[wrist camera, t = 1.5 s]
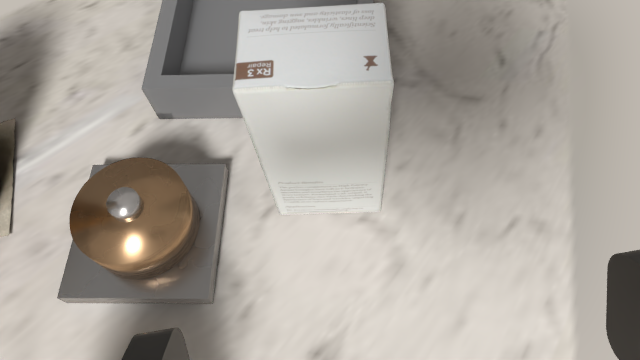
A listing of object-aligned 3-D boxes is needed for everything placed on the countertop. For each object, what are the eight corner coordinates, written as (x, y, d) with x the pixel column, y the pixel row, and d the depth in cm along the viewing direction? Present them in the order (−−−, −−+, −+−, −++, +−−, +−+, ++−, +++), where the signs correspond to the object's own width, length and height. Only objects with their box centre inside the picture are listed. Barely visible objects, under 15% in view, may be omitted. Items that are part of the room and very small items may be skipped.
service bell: (66, 302, 27) (19, 279, 23) (100, 173, 30) (65, 134, 26) (212, 303, 26) (189, 280, 22) (228, 172, 30) (211, 132, 26)
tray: (159, 118, 32) (141, 88, 29) (189, -29, 39) (177, -64, 36) (374, 115, 31) (377, 84, 29) (368, -34, 38) (370, -71, 35)
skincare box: (376, 151, 30) (392, -9, 19) (382, 218, 28) (403, 81, 17) (276, 155, 30) (237, -1, 20) (274, 222, 28) (229, 89, 18)
